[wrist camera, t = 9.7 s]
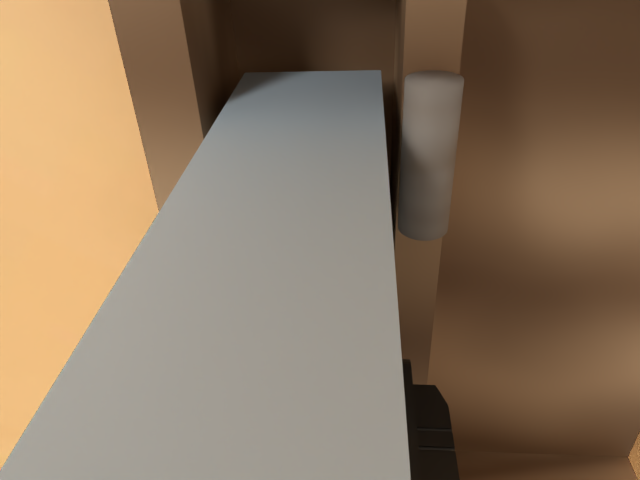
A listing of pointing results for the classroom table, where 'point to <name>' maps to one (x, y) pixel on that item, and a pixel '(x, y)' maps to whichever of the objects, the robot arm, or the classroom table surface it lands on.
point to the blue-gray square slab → (248, 310)
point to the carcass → (462, 194)
